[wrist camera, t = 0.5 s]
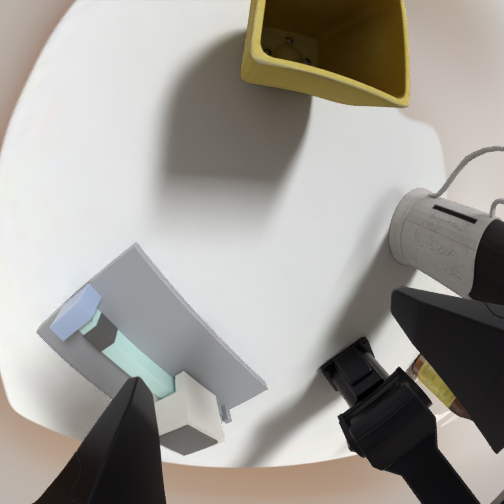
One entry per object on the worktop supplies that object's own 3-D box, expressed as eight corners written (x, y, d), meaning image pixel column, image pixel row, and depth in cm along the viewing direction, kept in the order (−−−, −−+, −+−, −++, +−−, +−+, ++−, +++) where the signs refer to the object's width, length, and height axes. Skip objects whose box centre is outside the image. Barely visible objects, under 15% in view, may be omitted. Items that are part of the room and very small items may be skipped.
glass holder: (387, 274, 26) (492, 354, 13) (385, 135, 21) (537, 155, 7) (436, 254, 28) (529, 310, 14) (439, 136, 22) (557, 158, 8)
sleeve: (215, 395, 25) (225, 442, 19) (179, 413, 25) (183, 458, 19) (183, 370, 23) (188, 422, 17) (146, 391, 23) (145, 439, 17)
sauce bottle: (410, 377, 37) (474, 451, 19) (411, 359, 34) (486, 439, 16) (436, 355, 37) (502, 421, 19) (439, 335, 35) (515, 405, 17)
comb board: (265, 382, 27) (276, 409, 24) (171, 428, 27) (172, 454, 24) (136, 242, 19) (126, 262, 15) (39, 326, 19) (24, 351, 15)
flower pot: (220, 99, 17) (248, 59, 9) (234, 5, 14) (267, -61, 6) (330, 119, 19) (410, 110, 11) (335, 31, 16) (404, -5, 8)
